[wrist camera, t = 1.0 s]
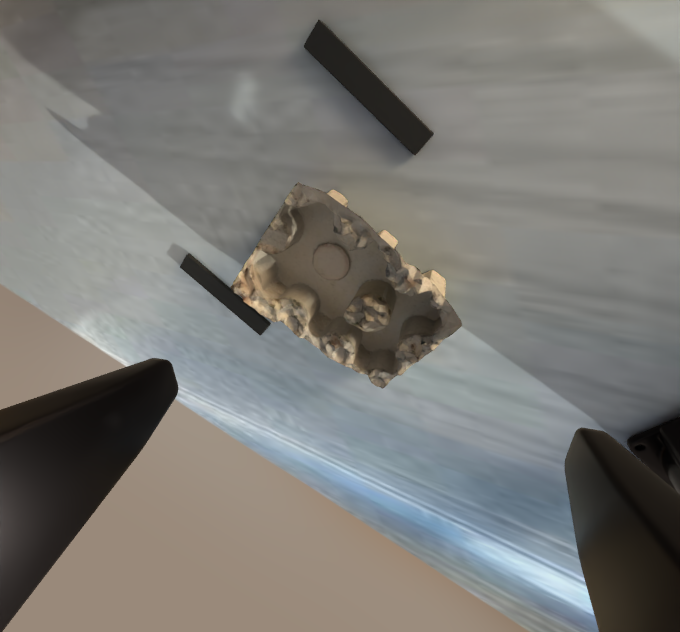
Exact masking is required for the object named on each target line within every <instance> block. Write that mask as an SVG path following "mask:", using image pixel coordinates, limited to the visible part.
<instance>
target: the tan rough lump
mask: <svg viewBox="0 0 680 632" xmlns="http://www.w3.org/2000/svg"><path fill="white" fill-rule="evenodd" d="M347 204H348V201H347V199H346V198H345V197H344V196H343V195H342V194H340V193H338V192H337V191H335V190H331V191H330V192H329V193H324V192H322V191H320V190H318V189H315V188H311V187H308V186H305V185H302V184H301V183H299V182H298V183H297V184H296V185H295V186H294V188H293V189H292V191H291V192H290V194H289V195H288V197H287V198H286V200H285V202H284V203H283V205H282V207H281V208H280V210H279V211H278V213H277V214H276V216H275V217H274V219H273V221H272V222H271V224H270V225H269V227H268V229H267V230H266V232H265V233H264V235H263V236H262V238H261V239H260V241H259V243H258V245H257V246H256V248H255V250H254V252H253V253H252V255H251V256H250V257H249V259H248V260H247V262H246V263H245V265H244V266H243V268H242V270H241V271H240V273H239V274H238V276H237V277H236V279H235V281H234V282H233V285H232V286H231V289H232V290H233V292H234V293H236V294H238V295H240V296H241V297H242V300H243V301H244V302H245V303H246V304H248V305H249V306H252V307H253V308H255V309H256V310H257V311H258V313H259V314H261V315H263V316H265V317H266V318H268V319H270V320H272V321H273V322H277V321H281V322H283V323H284V324H286V325H287V326H288V327H289V328H290V329H291V330H292V331H293V332H294V334H296V335H297V336H298V337H299V338H305V339H306V340H308V341H309V342H310V343H312V344H313V345H314V346H316V347H318V348H319V349H320V350H321V351H322V352H323V353H324V354H325V355H326V356H327V357H329V358H331V359H333V360H335V361H336V362H338V363H340V364H342V365H344V366H346V367H350V368H352V369H353V370H355V371H356V372H358V373H362V374H367V375H368V377H369V379H370V381H371V382H372V383H373V384H374V385H376V386H377V387H381V388H384V387H385V386H386V385H387V384H388V383H389V381H390V380H391V379H393V378H394V377H395V376H397V375H402V374H403V373H404V372H405V371H406V370H407V369H408V368H409V367H410V366H411V365H413V364H414V363H416V362H418V361H419V360H420V359H422V358H423V357H424V356H425V355H427V354H428V353H430V352H431V351H433V350H434V349H435V348H436V347H437V346H438V345H439V344H440V342H441V341H442V340H443V339H445V338H447V337H449V336H450V335H452V334H453V333H454V332H455V331H456V330H458V329H459V328H460V327H461V326H462V323H461V320H460V319H459V317H458V316H457V314H456V312H455V311H454V309H453V308H452V306H451V305H450V304H449V302H448V301H447V300H446V299H445V286H446V282H445V279H444V278H443V277H442V276H441V275H439V274H438V273H437V272H435V271H434V270H431V271H428V272H427V273H424V274H421V272H420V270H419V269H418V268H416V267H415V266H411V265H408V264H407V263H406V262H405V261H404V260H403V258H402V257H401V256H400V254H399V253H398V252H397V251H396V250H395V247H396V245H397V243H398V241H397V240H396V239H395V238H394V236H392V235H391V234H389V233H388V232H387V231H385V230H383V231H381V232H379V233H376V232H375V231H374V230H373V229H372V228H371V226H370V225H369V224H368V223H367V222H365V221H364V220H363V219H362V218H361V217H360V216H358V215H357V214H355V213H354V212H353V211H351V210H350V209H348V208H347V207H346V206H347Z"/></svg>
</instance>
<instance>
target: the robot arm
mask: <svg viewBox="0 0 680 632" xmlns="http://www.w3.org/2000/svg"><path fill="white" fill-rule="evenodd" d="M177 393H178V384H177V380H176V377H175V373H174V370H173V367H172V364H171V363H170V362H169V361H168V360H164V359H158V358H152V359H149V360H146V361H143V362H140V363H137V364H134V365H131V366H128V367H125V368H122V369H119V370H116V371H113V372H110V373H107V374H105V375H101V376H99V377H96V378H93V379H90V380H87V381H84V382H81V383H78V384H75V385H72V386H69V387H66V388H63V389H60V390H57V391H54V392H52V393H49V394H46V395H43V396H40V397H37V398H34V399H31V400H28V401H25V402H22V403H19V404H16V405H13V406H10V407H8V408H5V409H1V410H0V632H2V631H3V630H4V629H5V627H6V626H7V624H9V622H10V621H11V620H12V618H13V617H14V616H15V614H16V613H17V612H18V610H19V609H20V608H21V607H22V605H23V604H24V603H25V601H26V600H27V599H28V597H29V596H30V595H31V594H32V592H33V591H34V590H35V588H36V587H37V585H38V584H39V583H40V582H41V581H42V579H43V578H44V577H45V575H46V574H47V573H48V571H49V570H50V569H51V568H52V566H53V565H54V564H55V562H56V561H57V560H58V558H59V557H60V556H61V555H62V553H63V552H64V551H65V549H66V548H67V547H68V545H69V544H70V542H71V541H72V540H73V539H74V538H75V536H76V535H77V534H78V532H79V531H80V530H81V528H82V527H83V526H84V524H85V523H86V522H87V521H88V519H89V518H90V517H91V515H92V514H93V513H94V512H95V510H96V509H97V508H98V506H99V505H100V504H101V502H102V501H103V500H104V499H105V497H106V496H107V495H108V493H109V492H110V491H111V489H112V488H113V487H114V485H115V484H116V483H117V481H118V480H119V479H120V478H121V476H122V475H123V474H124V472H125V471H126V470H127V469H128V467H129V466H130V465H131V463H132V462H133V461H134V459H135V458H136V457H137V455H138V454H139V453H140V451H141V450H142V449H143V447H144V446H145V444H146V443H147V441H148V440H149V438H150V437H151V435H152V433H153V432H154V430H155V429H156V427H157V426H158V424H159V422H160V421H161V419H162V418H163V416H164V415H165V413H166V412H167V410H168V408H169V407H170V405H171V404H172V402H173V401H174V399H175V397H176V396H177ZM639 444H641V445H639ZM627 445H628V446H629V448H630V450H631V451H632V452H633V453H634V454H635V455H636V456H637V457H638V458H639V459H640V460H641V461H642V462H643V463H644V464H643V463H642V462H641V461H640V460H639V459H638V458H636V457H635V456H634V455H633V454H632V453H630V452H629V451H628V450H627V449H626V448H624V447H623V446H622V445H621V444H620V443H618V442H617V441H616V440H615V439H614V438H612V437H611V436H610V435H609V434H607V433H606V432H604V431H600V430H594V429H588V428H579V429H578V430H577V431H576V432H575V434H574V437H573V440H572V442H571V445H570V448H569V451H568V453H567V456H566V459H565V475H566V481H567V488H568V494H569V500H570V506H571V513H572V519H573V525H574V531H575V538H576V543H577V549H578V554H579V559H580V563H581V567H582V571H583V574H584V578H585V582H586V585H587V589H588V593H589V596H590V600H591V603H592V607H593V611H594V614H595V618H596V621H597V625H598V629H599V632H680V417H678V418H676V419H673V420H671V421H669V422H666V423H664V424H662V425H659V426H657V427H654V428H652V429H650V430H647V431H645V432H642V433H640V434H638V435H635V436H633V437H631V438H629V439H628V441H627ZM637 445H639V446H637ZM647 466H648V467H649V468H650V469H649V468H648V467H647Z"/></svg>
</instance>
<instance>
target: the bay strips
mask: <svg viewBox="0 0 680 632" xmlns="http://www.w3.org/2000/svg"><path fill="white" fill-rule="evenodd" d="M304 47H305V48H306V49H307V50H308V51H309V52H310V53H311V54H312V55H313V56H314V57H315V58H316V59H317V60H318V61H319V62H320V63H321V64H322V65H323V66H324V67H325V68H326V69H327V70H328V71H329V72H330V73H331V74H332V75H333V76H334V77H335V78H336V79H337V80H338V81H339V82H340V83H341V84H342V85H343V86H344V87H345V88H346V89H347V90H348V91H349V92H350V93H351V94H352V95H353V96H355V97H356V98H357V99H358V100H359V101H360V102H361V103H362V104H363V105H364V106H365V107H366V108H367V109H368V110H369V111H370V112H371V113H372V114H373V115H374V116H375V117H376V118H377V119H378V120H379V121H380V122H381V123H382V124H383V125H384V126H385V127H386V128H387V129H388V130H389V131H390V132H391V133H392V134H393V135H394V136H395V137H396V138H397V139H398V140H399V141H400V142H401V143H402V144H403V145H404V146H405V147H406V148H408V149H409V150H410V151H411V152H412V153H413V154H414V155H416V154H417V153H418V152H419V150H420V149H421V148H422V147H423V146H424V145H425V143H426V142H427V141H428V140H429V139H430V138H431V136H432V135H433V132H432V131H431V130H430V129H429V128H428V127H427V126H426V125H425V124H424V123H423V122H422V121H421V120H420V119H419V118H418V117H417V116H416V115H415V114H414V113H413V112H412V111H411V110H410V109H409V108H408V107H407V106H406V105H405V104H404V103H403V102H402V101H401V100H400V99H399V98H398V97H397V96H396V95H395V94H394V93H393V92H392V91H391V90H390V89H389V88H388V87H387V86H386V85H385V84H384V83H383V82H382V81H381V80H380V79H379V78H378V77H377V76H376V75H375V74H374V73H373V72H372V71H371V70H370V69H369V68H368V67H367V66H366V65H365V64H364V63H363V62H362V61H361V60H360V59H359V58H358V57H357V56H356V55H355V54H354V53H353V52H352V51H351V50H350V49H349V48H348V47H347V46H346V45H345V44H344V43H343V42H342V41H341V40H340V39H339V38H338V37H337V36H336V35H335V34H334V33H333V32H332V31H330V30H329V29H328V28H327V27H326V26H325V25H324V24H323V23H322V22H321V21H320V20H318V22H317V23H316V25H315V27H314V29H313V31H312V32H311V34H310V36H309V38H308V39H307V41H306V43H305V45H304ZM180 268H182V269H183V270H184V271H185V272H186V273H187V274H189V275H190V276H191V277H192V278H193V279H194V280H196V281H197V282H198V283H199V284H200V285H201V286H203V287H204V288H205V289H206V290H207V291H209V292H210V293H211V294H212V295H213V296H214V297H216V298H217V299H218V300H219V301H220V302H221V303H223V304H224V305H225V306H226V307H227V308H229V309H230V310H231V311H232V312H233V313H234V314H236V315H237V316H238V317H239V318H240V319H241V320H243V321H244V322H245V323H246V324H247V325H248V326H250V327H251V328H252V329H253V330H254V331H256V332H257V333H258V334H259V335H261V334H262V333H263V332H264V331H265V330H266V329H267V327H268V326H269V325H270V324H271V323H270V322H268V321H267V320H266V319H265V318H264V317H263V316H261V315H260V314H259V313H258V312H257V311H256V310H255V309H253V308H252V307H251V306H249V305H248V304H246V303H245V302H244V301H243V300H242V298H241V297H239V296H238V295H237V294H236V293H234V292H233V291H232V290H231V289H230V288H229V287H228V286H227V285H225V284H224V283H223V282H222V281H221V280H220V279H218V278H217V277H216V276H215V275H214V274H213V273H211V272H210V271H209V270H208V269H207V268H206V267H205V266H203V265H202V264H201V263H200V262H199V261H198V260H196V259H195V258H194V257H193V256H192V255H191V254H188V255H186V257H185V259H184V261H183V262H182V264H181V266H180Z"/></svg>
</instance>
